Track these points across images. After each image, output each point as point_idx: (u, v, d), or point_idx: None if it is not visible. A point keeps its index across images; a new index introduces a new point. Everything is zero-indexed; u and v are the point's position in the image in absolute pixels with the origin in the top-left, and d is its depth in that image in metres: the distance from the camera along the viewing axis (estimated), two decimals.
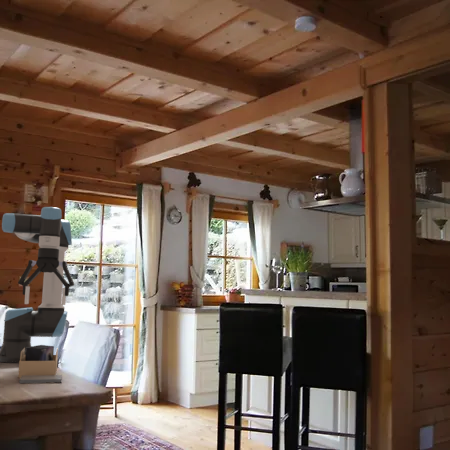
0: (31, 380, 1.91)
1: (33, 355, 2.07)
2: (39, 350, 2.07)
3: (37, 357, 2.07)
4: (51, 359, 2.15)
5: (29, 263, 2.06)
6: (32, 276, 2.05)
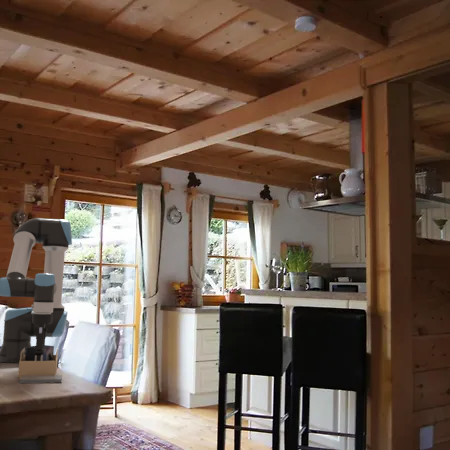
0: (31, 380, 1.91)
1: (33, 355, 2.07)
2: None
3: None
4: (51, 359, 2.15)
5: None
6: None
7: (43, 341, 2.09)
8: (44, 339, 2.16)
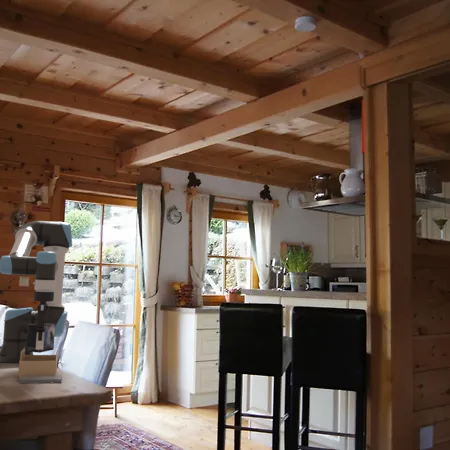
0: (31, 380, 1.91)
1: (35, 332, 2.08)
2: None
3: None
4: (53, 336, 2.16)
5: None
6: None
7: None
8: (46, 317, 2.18)
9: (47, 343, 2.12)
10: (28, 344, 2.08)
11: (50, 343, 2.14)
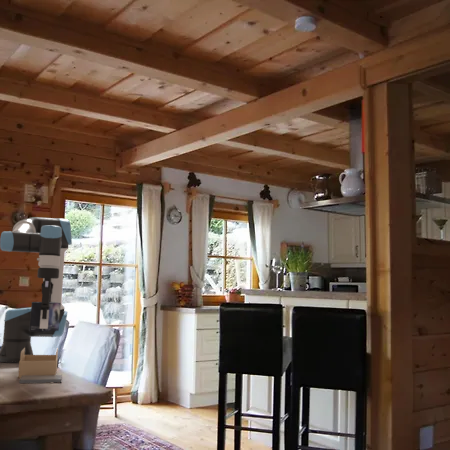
0: (31, 380, 1.91)
1: (39, 310, 1.95)
2: None
3: None
4: (58, 316, 2.02)
5: None
6: None
7: (49, 296, 1.97)
8: (50, 295, 2.04)
9: (52, 322, 1.98)
10: (31, 323, 1.95)
11: (55, 323, 2.00)
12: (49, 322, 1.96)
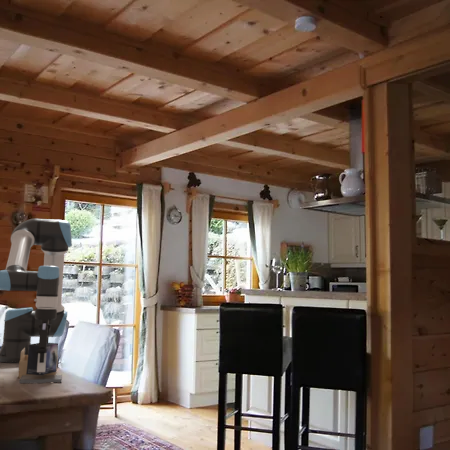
0: (31, 380, 1.91)
1: (36, 353, 1.93)
2: None
3: None
4: (55, 357, 2.00)
5: None
6: None
7: None
8: (48, 336, 2.02)
9: (49, 364, 1.96)
10: (29, 366, 1.92)
11: (52, 364, 1.98)
12: (46, 365, 1.94)
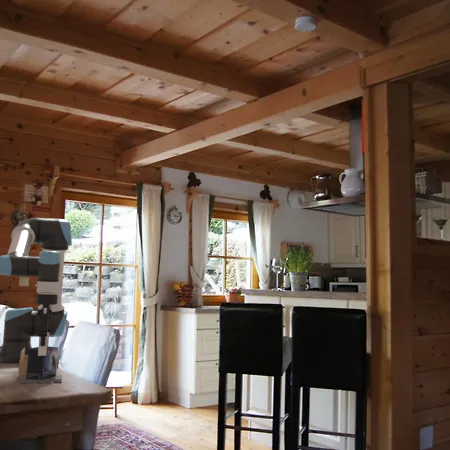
0: (31, 380, 1.91)
1: (35, 357, 1.92)
2: None
3: (40, 359, 1.92)
4: (55, 361, 2.00)
5: None
6: None
7: None
8: (49, 320, 2.03)
9: (49, 368, 1.96)
10: (28, 370, 1.92)
11: (52, 368, 1.98)
12: (46, 369, 1.94)
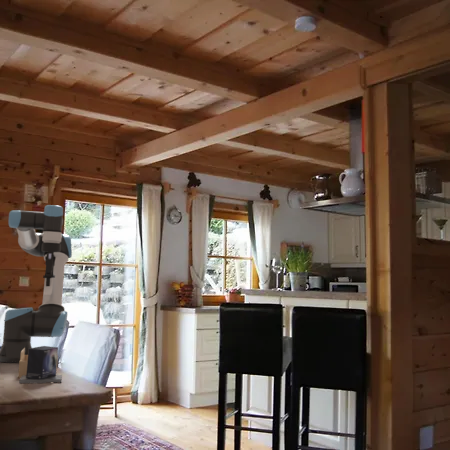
0: (31, 380, 1.91)
1: (36, 357, 1.92)
2: (42, 352, 1.92)
3: (40, 359, 1.92)
4: (55, 361, 2.00)
5: None
6: None
7: (52, 267, 2.23)
8: (53, 267, 2.31)
9: (49, 368, 1.96)
10: (28, 370, 1.92)
11: (52, 368, 1.98)
12: (46, 369, 1.94)
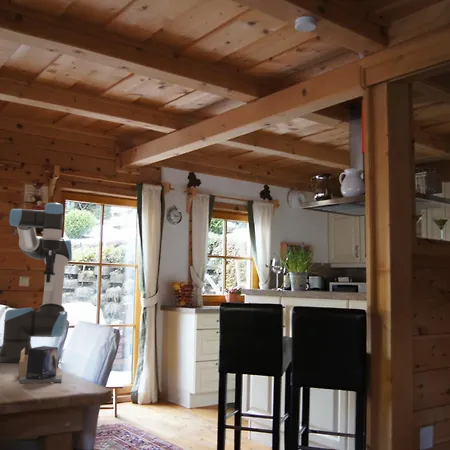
0: (31, 380, 1.91)
1: (36, 357, 1.92)
2: (42, 352, 1.92)
3: (40, 359, 1.92)
4: (55, 361, 2.00)
5: None
6: None
7: (52, 263, 2.25)
8: (53, 264, 2.33)
9: (49, 368, 1.96)
10: (28, 370, 1.92)
11: (52, 368, 1.98)
12: (46, 369, 1.94)
